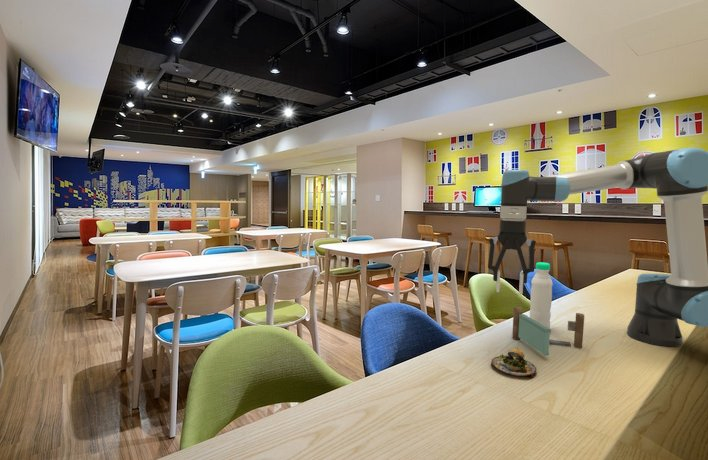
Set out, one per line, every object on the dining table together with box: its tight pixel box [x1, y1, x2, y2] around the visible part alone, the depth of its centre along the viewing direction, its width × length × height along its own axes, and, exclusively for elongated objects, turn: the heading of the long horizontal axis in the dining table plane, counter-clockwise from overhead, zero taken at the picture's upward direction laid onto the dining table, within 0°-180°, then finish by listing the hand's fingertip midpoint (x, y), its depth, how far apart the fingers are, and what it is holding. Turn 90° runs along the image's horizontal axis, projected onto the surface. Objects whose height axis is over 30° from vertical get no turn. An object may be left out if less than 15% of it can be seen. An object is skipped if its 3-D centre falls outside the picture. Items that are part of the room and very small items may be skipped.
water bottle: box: [529, 261, 554, 329], centre depth 137 cm, size 7×7×25 cm
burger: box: [490, 343, 537, 379], centre depth 105 cm, size 12×12×8 cm
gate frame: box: [511, 306, 585, 349], centre depth 125 cm, size 21×4×11 cm, turn 71°
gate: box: [518, 313, 552, 356], centre depth 118 cm, size 14×2×8 cm, turn 6°
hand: (509, 292), depth 117 cm, fingers open, 6 cm apart
